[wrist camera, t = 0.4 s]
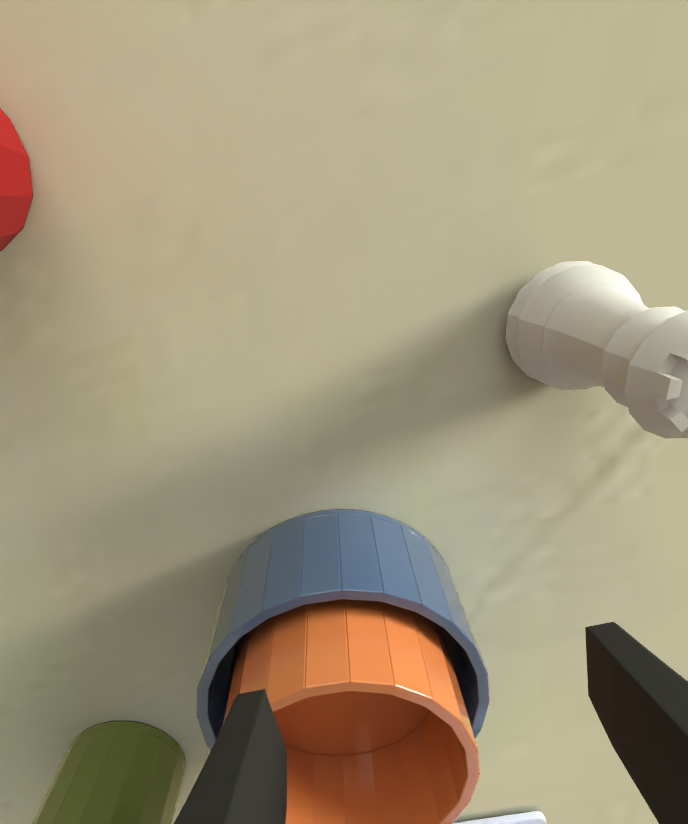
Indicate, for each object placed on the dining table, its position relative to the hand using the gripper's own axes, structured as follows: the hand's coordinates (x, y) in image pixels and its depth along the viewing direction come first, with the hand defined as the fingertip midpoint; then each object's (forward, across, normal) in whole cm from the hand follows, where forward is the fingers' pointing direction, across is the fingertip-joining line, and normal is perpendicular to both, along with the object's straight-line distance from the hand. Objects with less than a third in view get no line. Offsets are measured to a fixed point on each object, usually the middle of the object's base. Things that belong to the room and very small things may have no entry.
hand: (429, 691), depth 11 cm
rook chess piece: (+10, -8, -5) cm, 14 cm away
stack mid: (+10, +3, +6) cm, 12 cm away
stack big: (+10, +3, +6) cm, 12 cm away
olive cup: (+10, +15, +13) cm, 22 cm away
